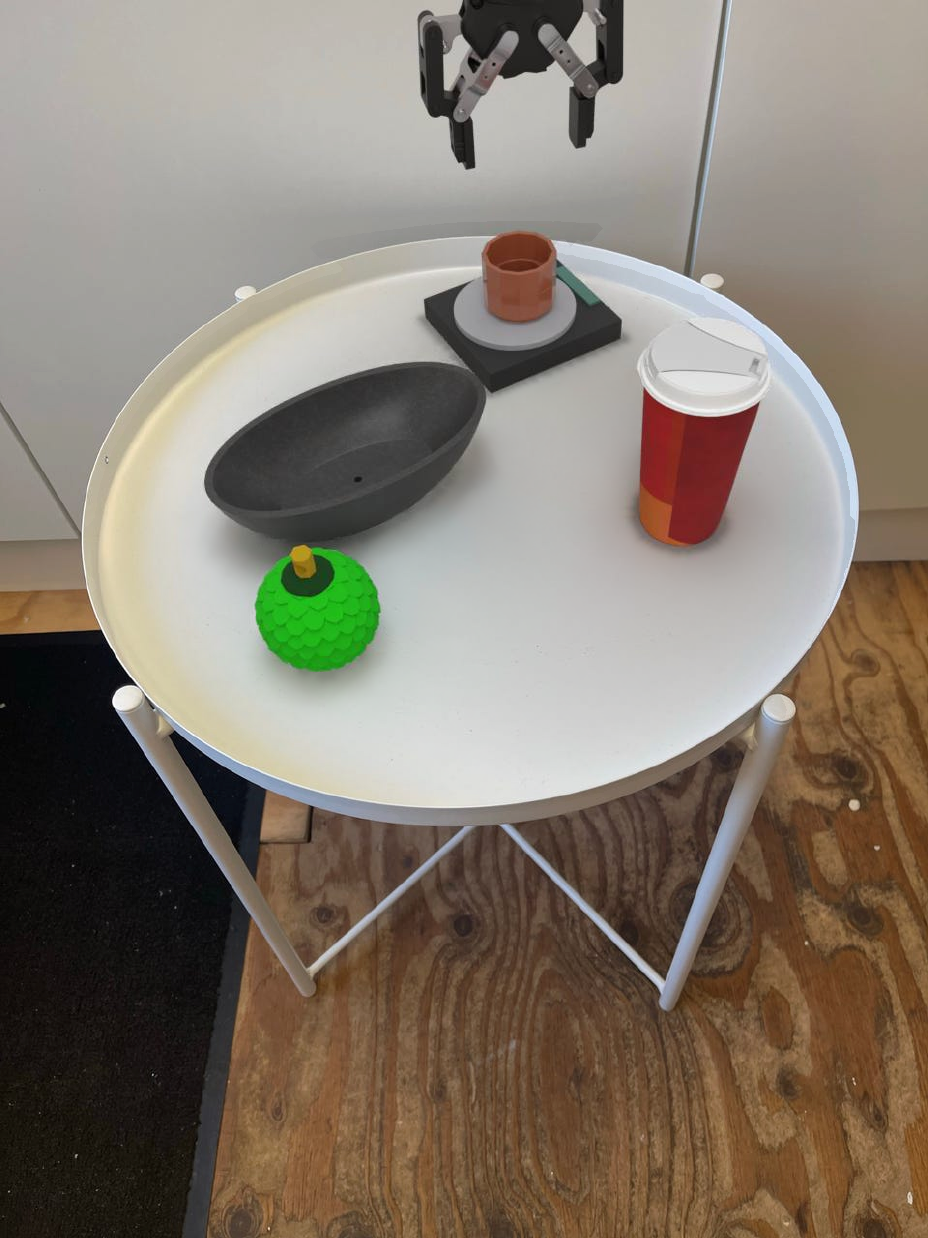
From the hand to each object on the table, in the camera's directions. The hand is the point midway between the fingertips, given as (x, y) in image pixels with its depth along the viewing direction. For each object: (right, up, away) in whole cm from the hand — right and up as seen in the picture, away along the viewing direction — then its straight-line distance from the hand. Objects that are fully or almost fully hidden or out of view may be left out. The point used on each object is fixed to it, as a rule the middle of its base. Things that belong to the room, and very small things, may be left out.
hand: (523, 153), depth 73 cm
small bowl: (0, -8, +11) cm, 13 cm away
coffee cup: (+12, -27, -1) cm, 30 cm away
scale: (+1, -9, +13) cm, 16 cm away
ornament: (-14, -37, -6) cm, 40 cm away
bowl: (-12, -25, +3) cm, 28 cm away
